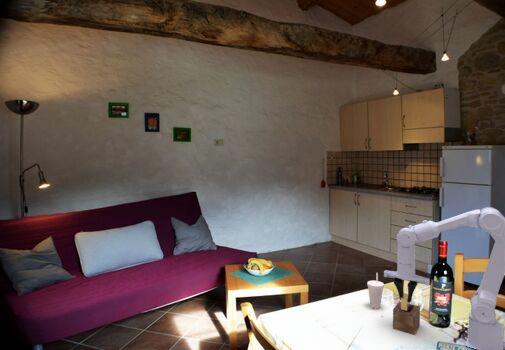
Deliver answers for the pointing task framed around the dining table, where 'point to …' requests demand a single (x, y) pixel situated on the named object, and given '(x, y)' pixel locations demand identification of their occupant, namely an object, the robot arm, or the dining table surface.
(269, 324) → the dining table surface
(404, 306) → the brass token
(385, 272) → the robot arm
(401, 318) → the box
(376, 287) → the smoothie
